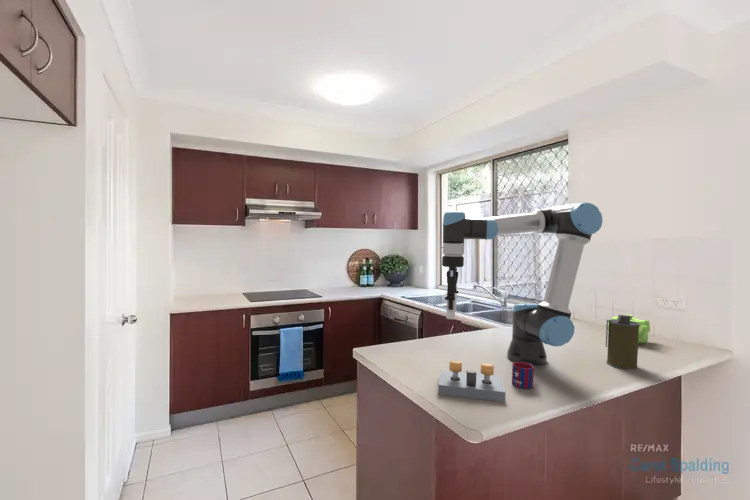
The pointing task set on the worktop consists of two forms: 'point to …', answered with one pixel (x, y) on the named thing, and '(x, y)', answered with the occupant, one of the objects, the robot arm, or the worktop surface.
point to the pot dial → (471, 378)
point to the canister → (622, 342)
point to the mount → (480, 391)
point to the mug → (522, 375)
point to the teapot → (640, 329)
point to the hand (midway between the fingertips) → (451, 314)
